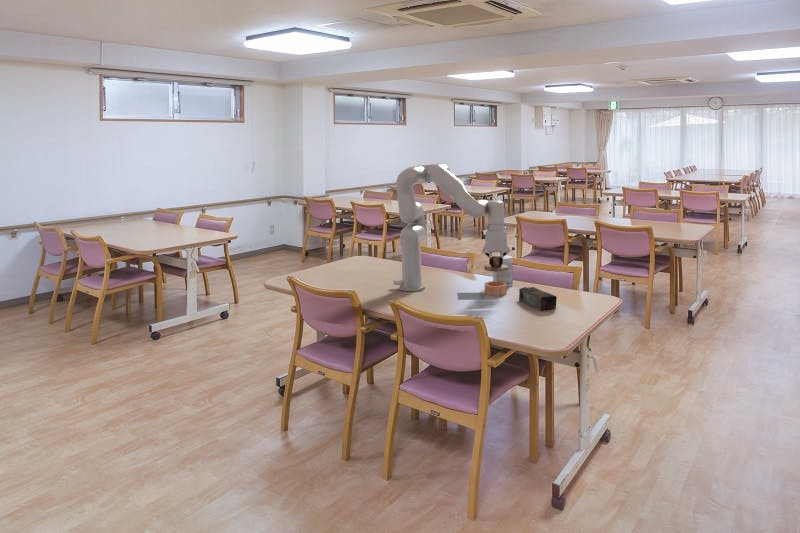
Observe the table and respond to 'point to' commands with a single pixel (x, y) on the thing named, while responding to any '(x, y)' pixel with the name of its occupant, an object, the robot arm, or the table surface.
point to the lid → (496, 265)
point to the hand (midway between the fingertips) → (496, 265)
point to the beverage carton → (537, 298)
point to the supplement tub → (505, 272)
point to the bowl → (495, 288)
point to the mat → (470, 296)
